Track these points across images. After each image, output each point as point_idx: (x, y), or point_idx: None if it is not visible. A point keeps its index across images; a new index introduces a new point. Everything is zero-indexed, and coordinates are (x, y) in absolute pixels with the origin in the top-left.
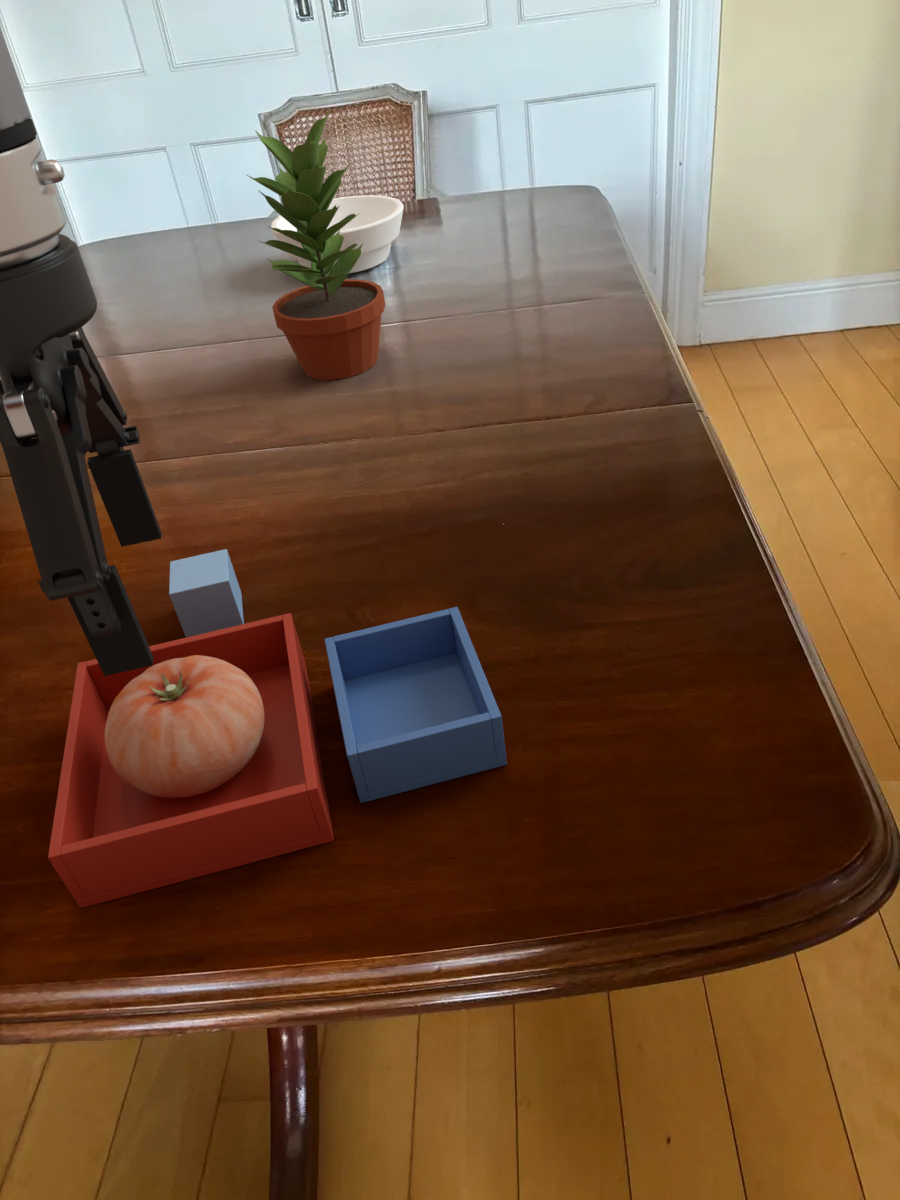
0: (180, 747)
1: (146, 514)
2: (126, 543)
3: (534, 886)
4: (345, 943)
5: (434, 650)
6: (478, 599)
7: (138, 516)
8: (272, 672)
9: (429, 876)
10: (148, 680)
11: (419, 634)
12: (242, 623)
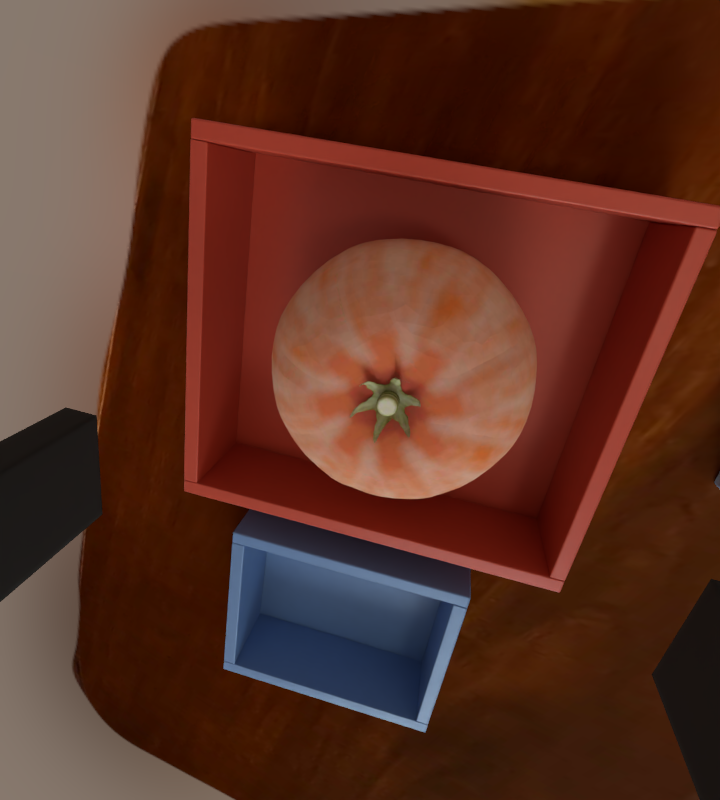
0: (277, 374)
1: (699, 766)
2: (707, 600)
3: (127, 558)
4: (117, 409)
5: (426, 653)
6: (515, 717)
7: (716, 745)
8: (538, 486)
9: (161, 498)
10: (438, 373)
11: (427, 670)
12: (716, 484)
